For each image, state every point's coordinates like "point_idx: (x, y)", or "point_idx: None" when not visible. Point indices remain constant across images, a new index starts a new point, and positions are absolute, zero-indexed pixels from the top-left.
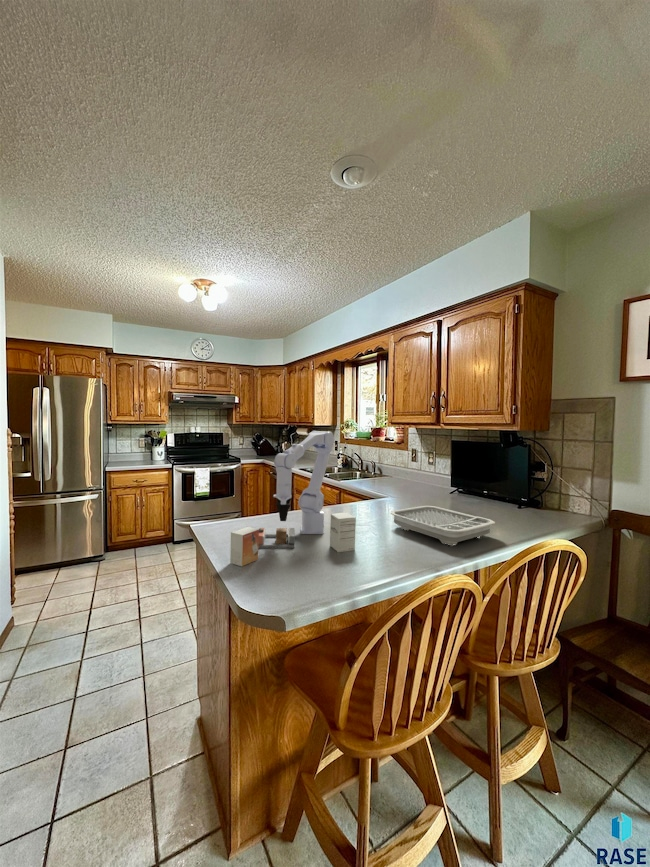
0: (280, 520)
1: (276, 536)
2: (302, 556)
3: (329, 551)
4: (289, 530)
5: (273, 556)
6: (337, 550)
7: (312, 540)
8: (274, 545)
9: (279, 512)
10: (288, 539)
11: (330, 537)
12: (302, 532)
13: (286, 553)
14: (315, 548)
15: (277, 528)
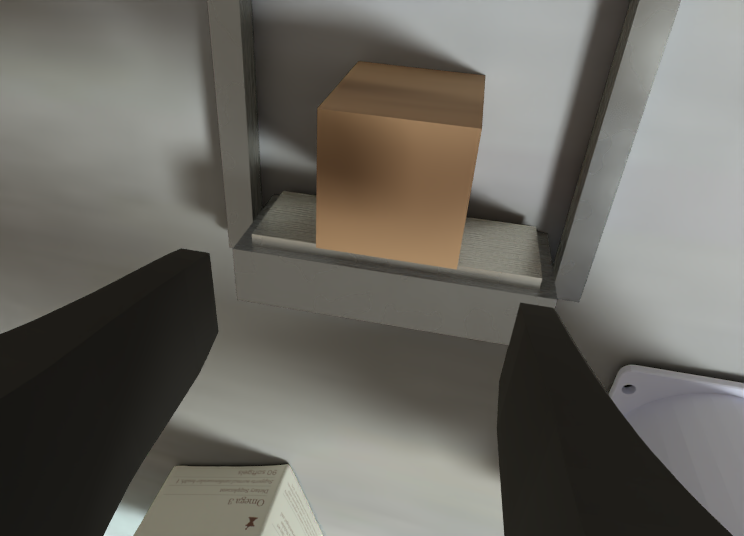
0: (169, 254)
1: (337, 92)
2: (69, 259)
3: (189, 432)
4: (453, 283)
5: (8, 9)
6: (175, 472)
7: (424, 399)
8: (217, 40)
9: (14, 339)
10: (262, 220)
11: (257, 521)
12: (637, 382)
13: (106, 146)
14: (240, 374)
15: (467, 142)
